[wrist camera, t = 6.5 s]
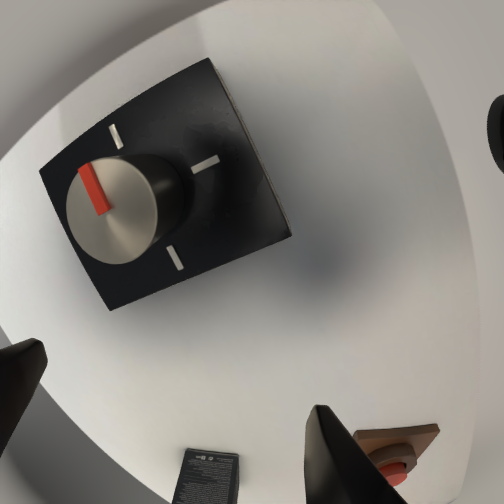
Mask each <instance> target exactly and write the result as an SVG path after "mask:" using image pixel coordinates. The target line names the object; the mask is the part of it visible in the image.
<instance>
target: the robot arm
mask: <svg viewBox="0 0 504 504" xmlns="http://www.w3.org/2000/svg"><path fill="white" fill-rule="evenodd" d="M503 160H504V153H503ZM47 363H48V359H47V355H46V352H45V348H44V345H43V343H42V342H41V341H40V340H37V339H35V338H30V339H28V340H25V341H22V342H19V343H17V344H14V345H11V346H8V347H6V348H3V349H0V457H1V455H2V453H3V451H4V449H5V447H6V445H7V443H8V441H9V439H10V437H11V435H12V433H13V431H14V429H15V428H16V426H17V424H18V422H19V420H20V418H21V416H22V415H23V413H24V411H25V409H26V408H27V406H28V404H29V402H30V400H31V399H32V397H33V394H34V392H35V390H36V388H37V386H38V383H39V381H40V379H41V377H42V375H43V373H44V371H45V369H46V367H47ZM304 478H305V491H306V504H408V503H407V502H406V501H405V500H404V499H403V498H402V497H401V496H400V495H399V494H398V492H397V491H396V490H395V489H394V488H393V486H392V485H391V484H389V482H388V480H387V479H386V478H385V477H384V476H383V474H382V473H381V472H380V471H379V469H378V468H377V467H376V466H375V464H374V463H373V462H372V461H371V459H370V458H369V457H368V456H367V454H366V453H365V452H364V451H363V449H362V448H361V447H360V446H359V444H358V443H357V442H356V441H355V439H354V438H353V437H352V436H351V434H350V433H349V432H348V430H347V429H346V428H345V427H344V425H343V424H342V423H341V421H340V420H339V419H338V418H337V416H336V415H335V414H334V412H333V411H332V410H331V409H330V407H329V406H327V405H314V407H313V408H312V411H311V413H310V415H309V417H308V420H307V423H306V432H305V455H304Z"/></svg>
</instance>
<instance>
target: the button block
mask: <svg viewBox="0 0 504 504" xmlns="http://www.w3.org/2000/svg"><path fill="white" fill-rule="evenodd" d="M439 432H440V429H439V427H438V425H437V424H432V425H425V426H417V427H408V428H397V429H384V430H365V431H356V433H355V434H354V436H353V438H354V439H355V441H356V442H357V443H358V444H359V446H360V447H361V448H362V449H363V451H364V452H365V453H366V454H367V456H368V457H369V458H370V459H371V461H372V462H373V463H374V464H375V466H376V467H377V468H378V469H379V468H381V467H383V466H386V465H389V464H391V463H396V462H403V463H404V467H405V470H406V473H407V474H408V473H409V472H410V471H411V470H412V469H413V468H414V467H415V466H416V465H417V459H418V458H419V457H420V455H421V454H422V453H423V452H424V451H425V450H426V448H427V447H428V446H429V445H430V444H431V442H432V441H433V440H434V439H435V437H436V436H437V435H438V433H439Z"/></svg>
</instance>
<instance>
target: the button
mask: <svg viewBox="0 0 504 504" xmlns="http://www.w3.org/2000/svg"><path fill="white" fill-rule="evenodd" d="M379 471H380V472H381V473H382V474H383V476H384V477H385V478H386V479H387V480H388V482H389V484H391V485H392V486H393V487H394V486H396V485H398V484H400V483H401V482H403V481H404V480H405V479H406V478H407V473H406V470H405V467H404V463H403V462H396V463H391V464H389V465H386V466H383V467H381V468H379Z"/></svg>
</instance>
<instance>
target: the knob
mask: <svg viewBox="0 0 504 504" xmlns="http://www.w3.org/2000/svg"><path fill="white" fill-rule="evenodd" d="M183 207H184V188H183V184H182V181H181V178H180V176H179V175H178V173H177V171H176V170H175V169H174V167H173V166H172V165H171V164H170V163H168V162H167V161H166V160H164V159H162V158H161V157H158V156H155V155H152V154H136V155H124V156H114V157H104V158H99V159H96V160H94V161H91V162H90V163H86V164H85V165H83V166H82V167H80V168H79V169H78V173H77V175H76V176H75V178H74V179H73V181H72V183H71V185H70V188H69V191H68V195H67V202H66V211H67V219H68V223H69V226H70V229H71V232H72V234H73V236H74V238H75V240H76V241H77V242H78V244H79V245H80V246H81V248H82V249H83V250H84V251H85V252H87V253H88V254H89V255H90V256H92V257H93V258H95V259H97V260H99V261H102V262H105V263H109V264H123V263H127V262H130V261H133V260H134V259H136V258H138V257H139V256H140V255H142V254H143V253H144V252H145V251H146V250H147V249H148V248H149V247H151V246H152V245H153V244H154V243H155V242H156V241H157V240H159V239H160V238H161V237H162V236H163V235H164V234H166V233H167V232H168V231H169V230H170V229H171V228H172V227H173V226H174V225H175V224H176V223H177V221H178V220H179V218H180V216H181V213H182V211H183Z"/></svg>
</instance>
